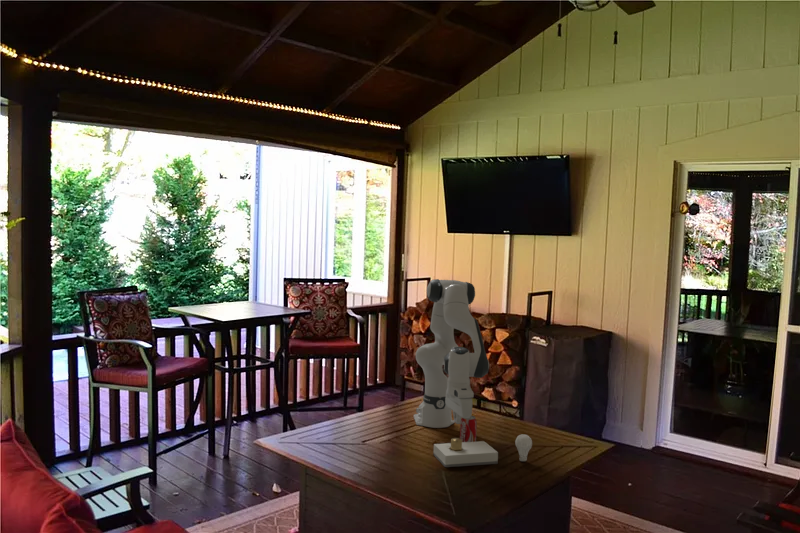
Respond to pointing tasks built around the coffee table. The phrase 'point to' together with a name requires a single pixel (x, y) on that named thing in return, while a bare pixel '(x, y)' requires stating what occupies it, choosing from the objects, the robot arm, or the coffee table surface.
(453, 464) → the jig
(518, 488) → the coffee table surface
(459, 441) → the olive glossy cylinder
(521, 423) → the coffee table surface
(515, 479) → the coffee table surface
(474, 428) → the soda can
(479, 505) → the coffee table surface
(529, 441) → the light bulb
